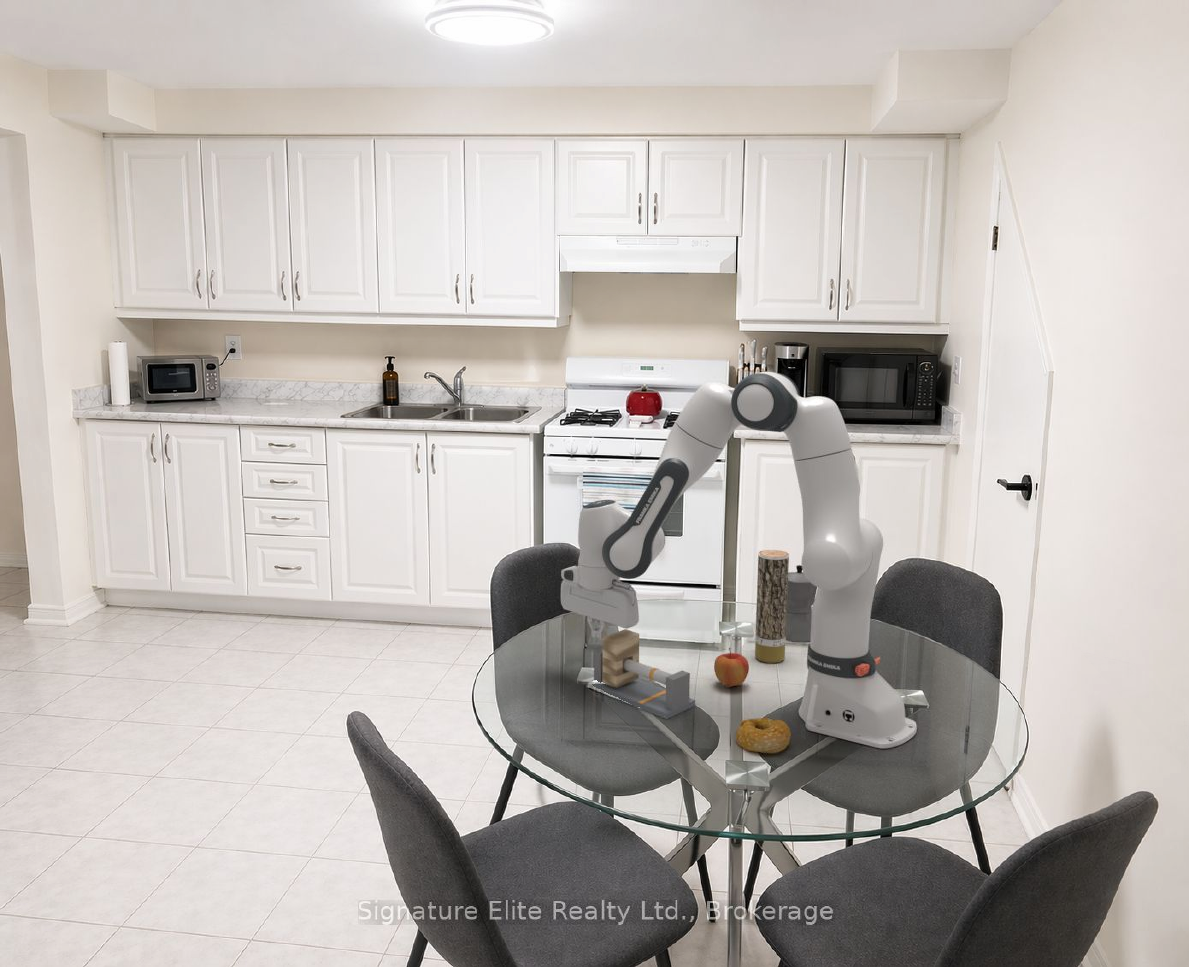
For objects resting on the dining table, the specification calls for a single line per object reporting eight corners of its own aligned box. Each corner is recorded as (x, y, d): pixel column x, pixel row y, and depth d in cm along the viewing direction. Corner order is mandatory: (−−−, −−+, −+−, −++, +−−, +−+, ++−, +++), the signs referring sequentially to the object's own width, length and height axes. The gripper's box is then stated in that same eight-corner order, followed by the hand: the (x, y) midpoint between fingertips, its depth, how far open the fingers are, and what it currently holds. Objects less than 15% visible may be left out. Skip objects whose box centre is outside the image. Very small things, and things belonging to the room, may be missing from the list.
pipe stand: (695, 705, 194) (696, 670, 192) (666, 719, 187) (667, 682, 186) (616, 676, 209) (616, 643, 207) (587, 688, 202) (587, 654, 201)
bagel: (782, 729, 183) (782, 706, 182) (796, 757, 172) (797, 732, 171) (730, 731, 183) (731, 708, 182) (742, 758, 172) (742, 734, 171)
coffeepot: (766, 639, 232) (769, 567, 229) (773, 626, 241) (775, 558, 237) (831, 646, 227) (834, 574, 224) (835, 634, 236) (839, 563, 232)
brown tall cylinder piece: (783, 654, 222) (787, 550, 217) (786, 664, 216) (790, 558, 211) (753, 652, 223) (757, 549, 218) (755, 663, 216) (759, 557, 212)
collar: (638, 678, 202) (639, 633, 201) (616, 687, 198) (616, 641, 196) (625, 673, 205) (625, 629, 203) (602, 682, 200) (602, 637, 198)
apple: (721, 694, 199) (722, 658, 198) (708, 681, 206) (709, 646, 205) (753, 690, 201) (755, 654, 200) (739, 677, 208) (740, 642, 207)
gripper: (645, 582, 197) (645, 645, 199) (576, 563, 211) (576, 623, 214) (625, 588, 192) (624, 653, 195) (555, 569, 207) (556, 630, 209)
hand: (599, 637), depth 204 cm, fingers closed
